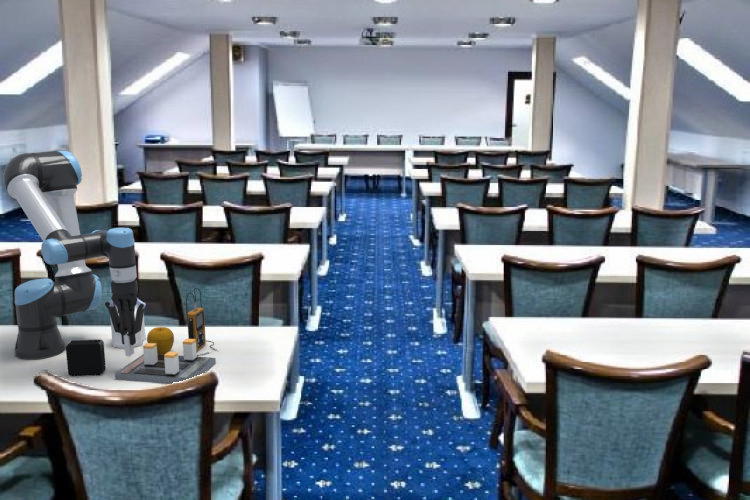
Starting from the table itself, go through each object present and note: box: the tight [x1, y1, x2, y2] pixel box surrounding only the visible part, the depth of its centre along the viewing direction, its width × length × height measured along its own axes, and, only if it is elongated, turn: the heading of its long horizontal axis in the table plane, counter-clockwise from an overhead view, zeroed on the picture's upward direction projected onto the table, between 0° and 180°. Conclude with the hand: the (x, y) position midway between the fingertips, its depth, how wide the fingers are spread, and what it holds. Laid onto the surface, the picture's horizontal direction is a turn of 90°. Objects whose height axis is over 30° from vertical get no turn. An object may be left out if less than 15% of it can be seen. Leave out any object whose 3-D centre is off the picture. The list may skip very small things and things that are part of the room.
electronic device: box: [65, 339, 107, 377], centre depth 229 cm, size 4×10×10 cm, turn 95°
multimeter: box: [185, 287, 219, 357], centre depth 249 cm, size 15×10×20 cm
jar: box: [109, 304, 147, 349], centre depth 256 cm, size 12×10×15 cm
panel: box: [114, 353, 217, 384], centre depth 232 cm, size 24×18×2 cm
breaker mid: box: [142, 343, 158, 365], centre depth 232 cm, size 3×3×6 cm
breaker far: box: [182, 338, 198, 360], centre depth 235 cm, size 3×3×6 cm
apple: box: [146, 326, 175, 354], centre depth 246 cm, size 8×8×9 cm
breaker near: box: [164, 351, 179, 374], centre depth 224 cm, size 3×3×6 cm
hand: (129, 354), depth 233 cm, fingers closed
